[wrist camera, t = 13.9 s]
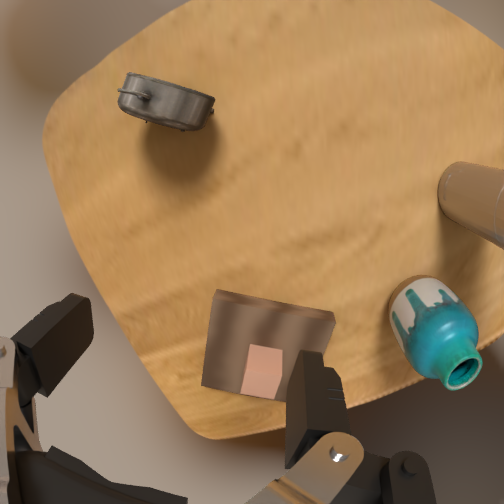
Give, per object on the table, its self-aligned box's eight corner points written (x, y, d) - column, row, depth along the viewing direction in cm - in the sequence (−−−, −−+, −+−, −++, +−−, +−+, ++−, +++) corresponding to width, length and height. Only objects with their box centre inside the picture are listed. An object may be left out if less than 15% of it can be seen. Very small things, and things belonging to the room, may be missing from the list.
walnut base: (333, 312, 45) (335, 322, 42) (301, 392, 52) (302, 404, 49) (216, 289, 46) (212, 298, 43) (204, 374, 52) (201, 385, 49)
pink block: (282, 349, 45) (282, 376, 39) (275, 373, 47) (273, 399, 41) (250, 343, 45) (245, 369, 39) (244, 367, 47) (240, 393, 41)
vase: (431, 254, 41) (501, 317, 23) (442, 307, 44) (498, 379, 26) (372, 282, 43) (418, 364, 25) (389, 334, 46) (427, 418, 28)
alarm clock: (225, 103, 37) (191, 78, 21) (210, 139, 38) (166, 137, 23) (155, 80, 36) (91, 54, 21) (141, 115, 38) (71, 106, 23)
